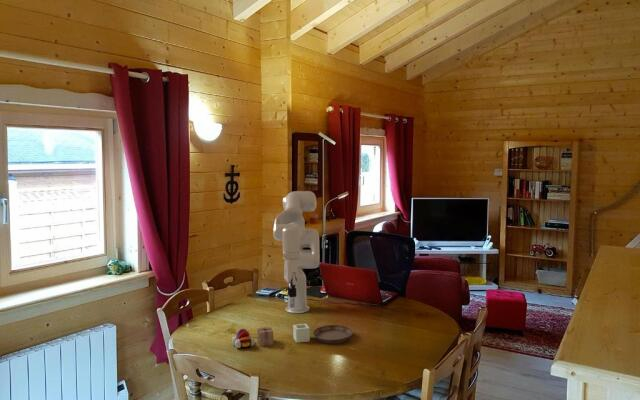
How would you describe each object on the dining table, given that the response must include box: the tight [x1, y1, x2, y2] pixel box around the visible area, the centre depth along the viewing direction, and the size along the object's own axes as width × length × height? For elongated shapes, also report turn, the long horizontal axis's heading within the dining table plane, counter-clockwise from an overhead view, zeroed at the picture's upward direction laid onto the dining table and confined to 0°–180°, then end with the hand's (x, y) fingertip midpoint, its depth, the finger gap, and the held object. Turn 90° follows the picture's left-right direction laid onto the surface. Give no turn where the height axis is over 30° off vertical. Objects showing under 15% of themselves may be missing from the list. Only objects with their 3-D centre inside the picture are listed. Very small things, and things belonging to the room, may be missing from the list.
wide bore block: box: [292, 323, 311, 343], centre depth 233 cm, size 6×6×6 cm
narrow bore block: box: [256, 326, 274, 347], centre depth 230 cm, size 6×6×6 cm
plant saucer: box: [312, 324, 354, 344], centre depth 235 cm, size 18×18×3 cm
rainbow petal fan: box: [231, 328, 256, 349], centre depth 227 cm, size 8×10×7 cm
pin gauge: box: [287, 280, 295, 308], centre depth 233 cm, size 3×3×12 cm
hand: (292, 295), depth 233 cm, fingers closed on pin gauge, 2 cm apart
